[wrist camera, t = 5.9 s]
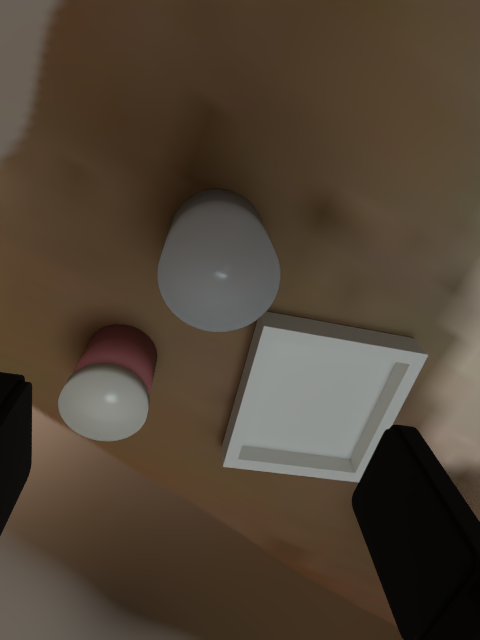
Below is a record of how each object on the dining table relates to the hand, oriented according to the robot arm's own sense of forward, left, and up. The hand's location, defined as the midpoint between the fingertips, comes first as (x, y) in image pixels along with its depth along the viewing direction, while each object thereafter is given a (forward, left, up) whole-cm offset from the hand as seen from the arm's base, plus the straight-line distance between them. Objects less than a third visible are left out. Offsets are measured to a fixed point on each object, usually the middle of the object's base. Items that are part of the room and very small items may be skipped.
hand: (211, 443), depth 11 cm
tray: (+11, +10, -18) cm, 23 cm away
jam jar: (+10, -5, -18) cm, 21 cm away
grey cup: (0, 0, -18) cm, 18 cm away
